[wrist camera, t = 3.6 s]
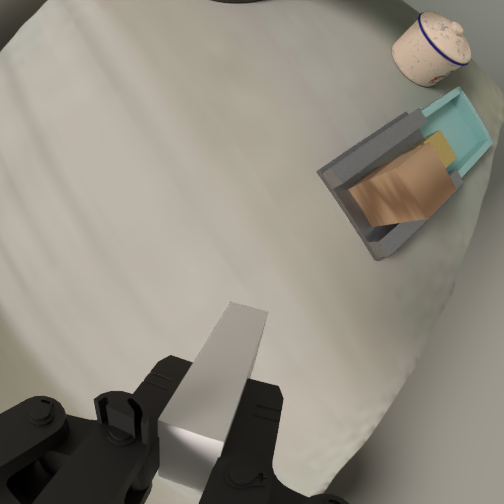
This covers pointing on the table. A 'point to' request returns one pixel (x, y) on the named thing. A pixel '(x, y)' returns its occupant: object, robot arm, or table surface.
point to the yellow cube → (438, 147)
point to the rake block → (404, 188)
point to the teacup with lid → (431, 49)
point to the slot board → (365, 161)
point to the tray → (458, 128)
